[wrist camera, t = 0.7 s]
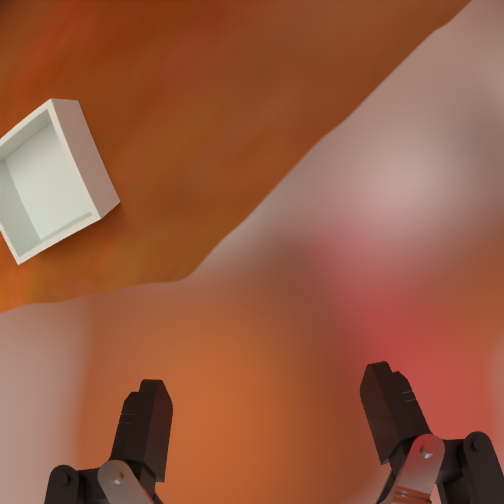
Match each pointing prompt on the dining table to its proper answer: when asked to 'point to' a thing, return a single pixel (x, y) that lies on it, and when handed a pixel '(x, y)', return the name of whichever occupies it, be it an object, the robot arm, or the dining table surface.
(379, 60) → the dining table surface
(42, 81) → the dining table surface
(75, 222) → the bin
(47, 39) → the dining table surface
